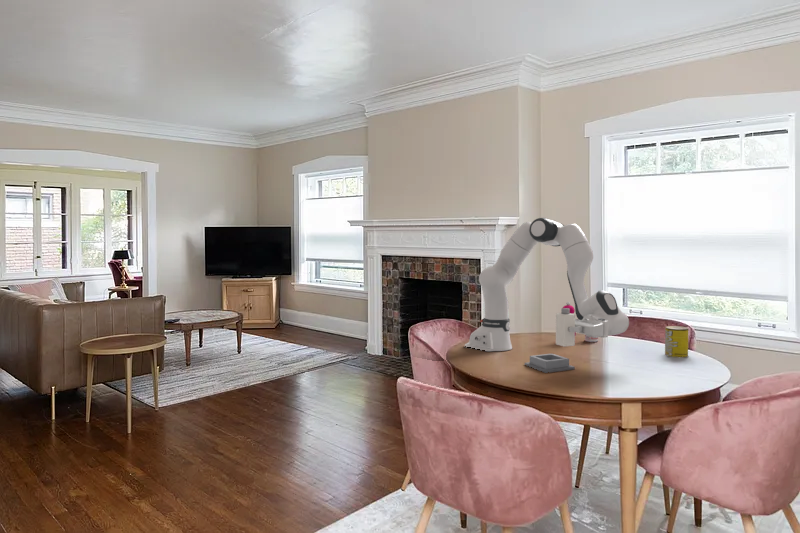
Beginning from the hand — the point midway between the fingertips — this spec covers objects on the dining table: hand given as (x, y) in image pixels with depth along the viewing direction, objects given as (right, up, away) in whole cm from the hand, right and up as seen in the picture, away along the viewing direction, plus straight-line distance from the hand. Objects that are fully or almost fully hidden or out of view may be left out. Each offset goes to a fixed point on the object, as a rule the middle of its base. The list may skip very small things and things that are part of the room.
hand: (563, 328), depth 214 cm
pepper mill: (+20, -14, +61) cm, 65 cm away
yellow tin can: (+58, -15, +29) cm, 67 cm away
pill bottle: (+33, -14, +63) cm, 73 cm away
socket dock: (-3, -17, +11) cm, 20 cm away
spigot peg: (+1, -6, +1) cm, 7 cm away
